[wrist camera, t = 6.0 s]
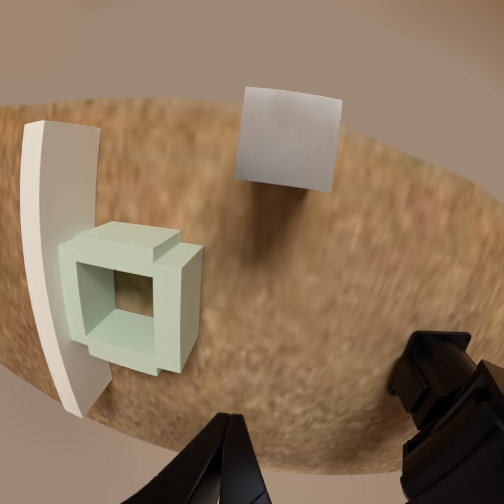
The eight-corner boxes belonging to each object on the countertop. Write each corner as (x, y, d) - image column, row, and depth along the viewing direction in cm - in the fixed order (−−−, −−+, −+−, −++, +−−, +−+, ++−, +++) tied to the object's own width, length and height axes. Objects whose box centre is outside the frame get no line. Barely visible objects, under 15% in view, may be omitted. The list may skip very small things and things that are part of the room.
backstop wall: (101, 128, 17) (44, 120, 11) (112, 378, 23) (83, 418, 17) (81, 129, 17) (24, 124, 11) (95, 372, 23) (65, 410, 17)
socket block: (204, 233, 18) (182, 253, 14) (198, 344, 21) (180, 382, 16) (95, 219, 19) (56, 232, 14) (102, 320, 21) (72, 348, 17)
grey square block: (318, 127, 16) (342, 100, 9) (310, 184, 17) (330, 192, 10) (259, 119, 16) (245, 86, 9) (252, 176, 17) (233, 178, 10)
